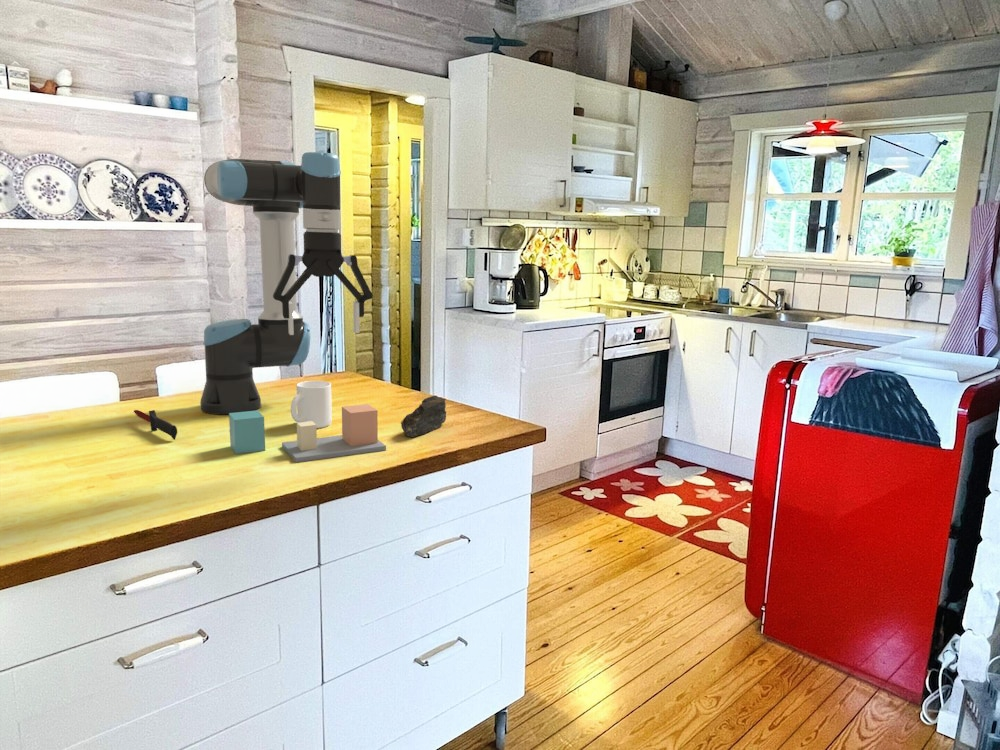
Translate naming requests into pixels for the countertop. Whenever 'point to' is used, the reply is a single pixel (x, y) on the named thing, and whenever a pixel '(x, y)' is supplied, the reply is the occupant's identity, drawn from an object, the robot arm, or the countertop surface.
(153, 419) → the knife
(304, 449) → the grey base with blocks
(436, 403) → the stone
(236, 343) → the robot arm
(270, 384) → the countertop surface
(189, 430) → the countertop surface
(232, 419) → the teal upright block
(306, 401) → the mug
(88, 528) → the countertop surface
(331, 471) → the countertop surface
